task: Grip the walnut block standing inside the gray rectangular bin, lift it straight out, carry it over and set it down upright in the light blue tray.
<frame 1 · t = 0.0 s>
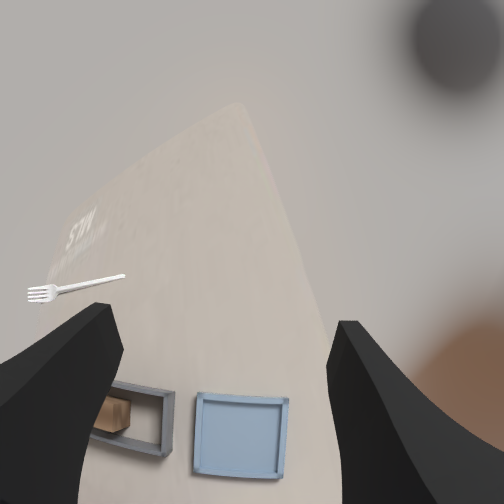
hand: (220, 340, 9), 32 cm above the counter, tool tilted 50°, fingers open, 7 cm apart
fork: (75, 288, 43), on the counter
walnut block: (109, 412, 33), in the gray rectangular bin
gray rectangular bin: (118, 410, 35), on the counter
light blue tray: (240, 436, 35), on the counter
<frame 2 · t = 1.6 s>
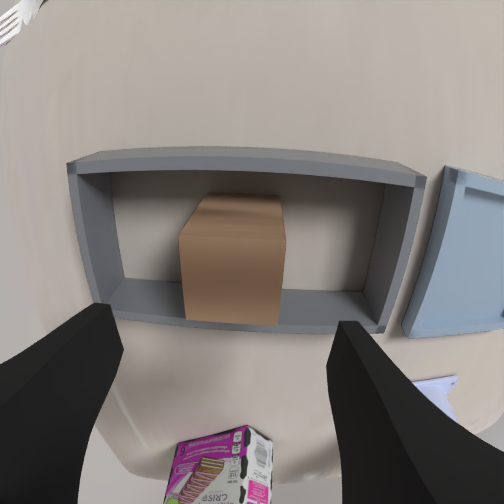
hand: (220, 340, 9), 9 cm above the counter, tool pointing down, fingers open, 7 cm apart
walnut block: (237, 250, 14), in the gray rectangular bin
gray rectangular bin: (242, 227, 17), on the counter
candy bar box: (221, 440, 29), on the counter
light blue tray: (484, 258, 17), on the counter
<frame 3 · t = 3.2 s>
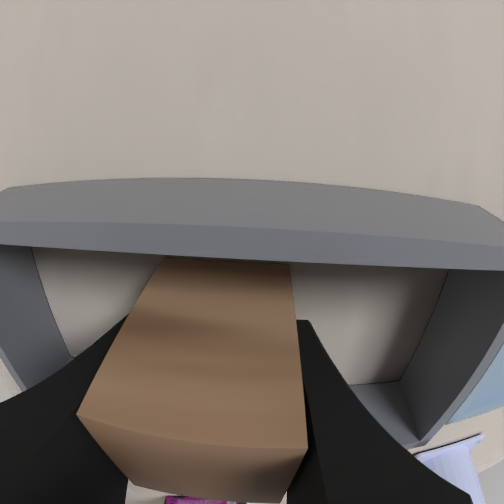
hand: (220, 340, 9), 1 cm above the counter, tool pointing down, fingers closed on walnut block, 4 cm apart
walnut block: (212, 378, 8), in the gray rectangular bin, touching gripper
gray rectangular bin: (225, 312, 10), on the counter
candy bar box: (214, 498, 22), on the counter
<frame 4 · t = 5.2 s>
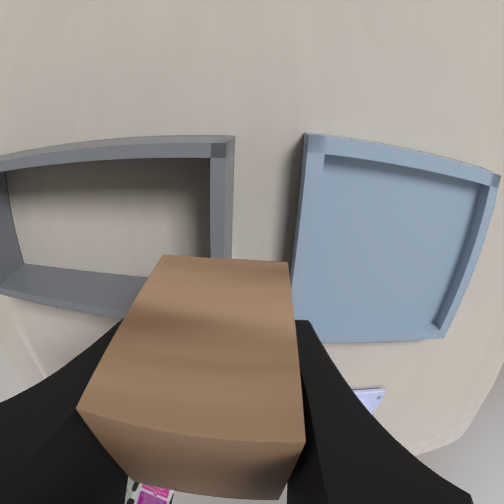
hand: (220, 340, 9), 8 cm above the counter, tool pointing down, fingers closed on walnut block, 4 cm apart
walnut block: (211, 375, 8), point 10 cm above the counter, touching gripper
gray rectangular bin: (92, 216, 16), on the counter
candy bar box: (141, 430, 28), on the counter
light blue tray: (391, 249, 16), on the counter
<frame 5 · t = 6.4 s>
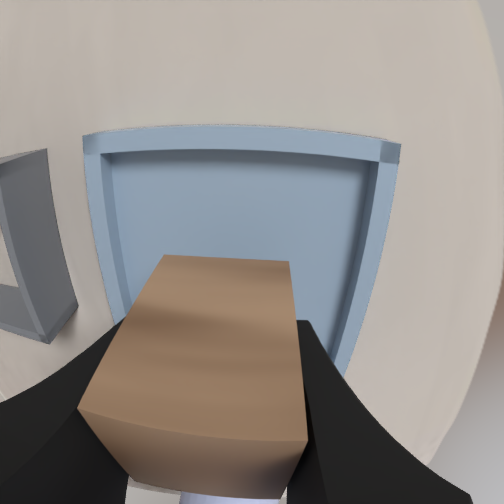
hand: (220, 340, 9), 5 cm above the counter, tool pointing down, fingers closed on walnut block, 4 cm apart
walnut block: (213, 374, 8), point 6 cm above the counter, touching gripper
light blue tray: (235, 262, 13), on the counter
when the fingers open (4 cm above the counter, at t = 7.1 s): walnut block drops 2 cm, resting on light blue tray.
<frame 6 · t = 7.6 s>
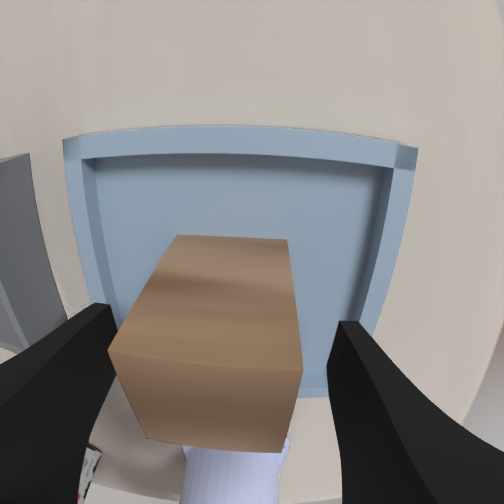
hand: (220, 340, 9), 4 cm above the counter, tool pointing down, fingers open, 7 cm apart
walnut block: (221, 335, 9), point 4 cm above the counter, touching light blue tray
candy bar box: (67, 441, 24), on the counter
light blue tray: (231, 277, 12), on the counter
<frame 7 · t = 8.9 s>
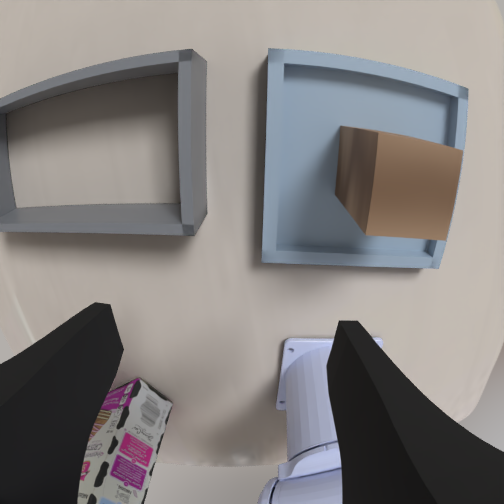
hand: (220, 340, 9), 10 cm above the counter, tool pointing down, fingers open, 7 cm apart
walnut block: (390, 174, 13), point 4 cm above the counter, touching light blue tray
gray rectangular bin: (80, 147, 16), on the counter
candy bar box: (127, 399, 28), on the counter
light blue tray: (367, 163, 16), on the counter
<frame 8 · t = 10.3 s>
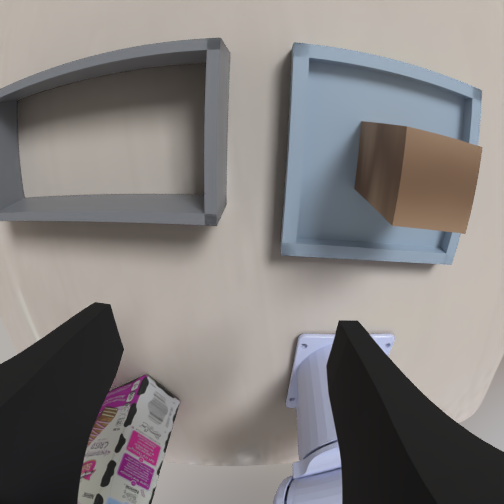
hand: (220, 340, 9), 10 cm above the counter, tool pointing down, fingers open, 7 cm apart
walnut block: (411, 169, 13), point 4 cm above the counter, touching light blue tray
gray rectangular bin: (96, 135, 16), on the counter
candy bar box: (133, 396, 28), on the counter
light blue tray: (385, 159, 16), on the counter
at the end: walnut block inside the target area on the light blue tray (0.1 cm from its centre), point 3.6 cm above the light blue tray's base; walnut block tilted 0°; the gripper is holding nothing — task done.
